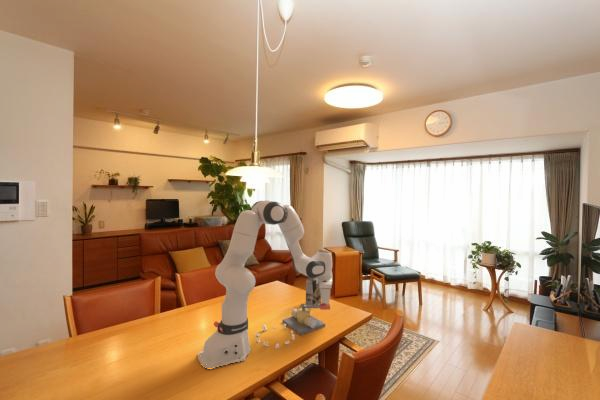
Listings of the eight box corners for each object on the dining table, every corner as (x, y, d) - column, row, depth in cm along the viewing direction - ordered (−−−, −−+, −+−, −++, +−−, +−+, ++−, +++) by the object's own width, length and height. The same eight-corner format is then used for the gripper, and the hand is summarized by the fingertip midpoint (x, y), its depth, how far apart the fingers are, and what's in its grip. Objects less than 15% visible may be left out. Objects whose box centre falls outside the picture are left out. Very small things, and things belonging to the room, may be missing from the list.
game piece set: (250, 333, 139) (250, 326, 139) (286, 324, 148) (286, 317, 148) (263, 353, 121) (263, 345, 121) (302, 342, 131) (303, 334, 130)
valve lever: (301, 309, 146) (301, 305, 146) (301, 306, 149) (301, 303, 149) (329, 309, 146) (330, 305, 146) (329, 307, 149) (329, 303, 149)
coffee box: (313, 306, 170) (313, 281, 170) (305, 304, 174) (305, 279, 174) (321, 302, 177) (321, 277, 177) (313, 299, 181) (313, 275, 181)
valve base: (301, 335, 136) (301, 317, 136) (282, 322, 150) (282, 306, 150) (325, 326, 146) (325, 309, 145) (305, 314, 159) (305, 299, 159)
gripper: (317, 273, 160) (317, 297, 161) (319, 286, 140) (319, 312, 140) (328, 273, 160) (328, 297, 160) (331, 286, 139) (331, 313, 140)
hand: (324, 304), depth 150 cm, fingers closed
